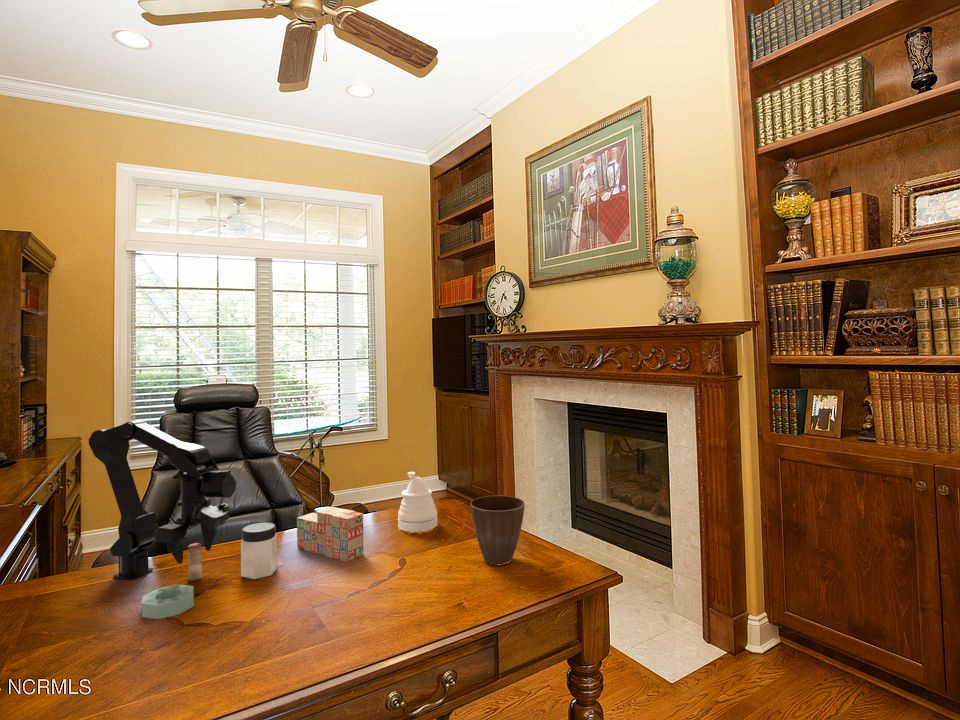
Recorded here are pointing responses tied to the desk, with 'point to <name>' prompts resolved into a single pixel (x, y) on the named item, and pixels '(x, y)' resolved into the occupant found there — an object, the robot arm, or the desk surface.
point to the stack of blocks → (332, 533)
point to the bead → (167, 601)
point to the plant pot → (497, 526)
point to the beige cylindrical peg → (194, 561)
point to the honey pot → (417, 507)
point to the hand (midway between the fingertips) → (194, 556)
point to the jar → (258, 550)
